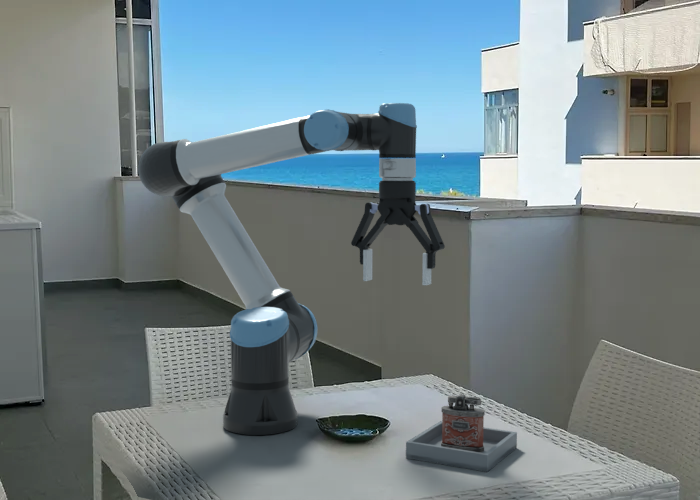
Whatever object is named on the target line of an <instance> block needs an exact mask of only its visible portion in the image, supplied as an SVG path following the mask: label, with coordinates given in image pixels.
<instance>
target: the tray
mask: <svg viewBox="0 0 700 500" xmlns="http://www.w3.org/2000/svg"><path fill="white" fill-rule="evenodd" d="M441 442H442V420H440V421H438V422H436V423H434V424H433V425H431V426H430V427H428V428H427V429H425V430H423V431H422V432H420V433H418V434H417V435H415V436H414V437H412V438H410V439H409V440H408V441H407V440H406V441H405V459H409V460H414V461H420V462H425V463H426V462H427V463H432V464H439V465H445V466H450V467H456V468H460V469H461V468H463V469H468V470H473V471H478V472H479V471H480V472H484V473H485V472H486V473H488V472H489V471H490V470H491V469H493V468H494V467H496V466H497V464H499V463H500V462H502V461H503V460H504V459H505V458H506V457H507V456H508V455H510V454H511V453H513V451H515V450H516V449H517V446H518V432H517V431H510V430H504V429H498V428H490V427H485V426H483V445H484V451H483V452H474V451H468V450H462V449H455V448H449V447H443V446H441Z"/></svg>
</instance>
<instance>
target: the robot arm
mask: <svg viewBox="0 0 700 500" xmlns="http://www.w3.org/2000/svg"><path fill="white" fill-rule="evenodd" d="M417 127H418V126H417V118H416V107H415V106H414V105H413V104H412V103H408V102H406V103H405V102H388V103H381V104H380V105H379V109H378V112H376V113H347V112H343V111H336V110H334V109H322V110H317V111H315V112H313V113H312V114H310V115H306V116H300V117H296V118H291V119H288V120H287V119H286V120H284V121H279V122H275V123H271V124H270V123H269V124H267V125H261V126H257V127H253V128H249V129H244V130H241V131H240V130H239V131H236V132H231V133H228V134H221V135H218V136H214V137H209V138H205V139H200V140H197V141H190V140H189V139H187V138H183V139H178V140H173V141H159V142H156V143H154V144H152V145H150V146H148V147H147V148H146V149H145V150H144V152H143V153H142V154H141V156H140V158H139V161H138V166H137V169H138V171H137V172H138V177H139V179H140V181H141V183H142V185H143V186H144V187H145V188H146V189H147V190H148V191H149V192H151V194H154V195H157V196H158V197H171V198H172V200H173V202H174V203H175V205H176V206H177V208H178V209H179V211H180V212H181V213H183V214H188V215H190V216H191V218H192V219H193V221H194V223H195V225H196V226H197V228H198V229H199V232H201V235H202V237H203V238H204V240H205V241H206V243H207V245H208V246H209V247H210V250H211V251H212V253H213V254H214V256H215V258H216V260H217V261H218V264H220V267H221V268H222V269H223V271H224V273H225V275H226V276H227V278H228V279H229V282H230V283H231V284H232V286H233V288H234V289H235V291H236V293H237V294H238V296H239V298H240V300H241V301H242V303H243V304H244V306H245V309H243V310H241V311H238V312H236V314H234V315H233V316H232V318H231V321H230V330H229V338H230V376H231V378H230V379H231V380H230V381H231V384H230V385H231V388H230V392H229V395H228V399H227V402H226V405H225V408H224V411H223V415H222V423H223V424H222V427H223V428H224V429H225V430H226V431H228V432H231V433H235V434H240V435H247V436H248V435H249V436H262V435H263V436H266V435H273V434H274V435H275V434H281V433H285V432H288V431H291V430H293V429H295V428H296V427H297V426H298V412H297V409H296V406H295V402H294V399H293V396H292V393H291V390H290V384H289V383H290V382H289V377H290V375H289V373H290V372H289V371H290V369H289V363H290V362H292V361H294V360H297V359H299V358H301V357H302V356H304V355H306V353H308V351H310V350H311V349H312V347H313V346H314V344H315V343H316V341H317V337H318V322H317V320H316V317H315V314H314V313H313V312H312V310H311V309H309V307H307V306H305V305H304V304H301V303H298V301H297V300H296V298H295V296H294V295H293V293H292V291H291V290H290V289H287V288H284V287H281V285H279V283H278V282H277V280H276V277H275V276H274V275H273V273H272V271H271V270H270V268H269V266H268V265H267V263H266V261H265V260H264V258H263V256H262V255H261V253H260V252H259V250H258V248H257V247H256V245H255V243H254V242H253V240H252V238H251V237H250V235H249V233H248V232H247V230H246V228H245V227H244V225H243V224H242V222H241V221H240V219H239V216H237V214H236V212H235V210H234V209H233V208H232V206H231V203H230V202H229V201H228V199H227V197H226V195H225V193H226V189H227V184H226V182H225V180H224V178H223V177H222V174H223V175H224V174H227V173H233V172H236V171H242V170H245V169H250V168H255V167H259V166H260V167H261V166H264V165H269V164H273V163H276V162H283V161H286V160H291V159H296V158H300V157H305V156H309V155H310V156H311V155H317V154H319V153H321V154H322V153H325V152H330V151H335V152H344V151H345V152H346V151H348V152H349V151H379V152H378V153H379V154H378V159H379V160H378V162H379V164H378V168H379V169H378V176H379V178H380V179H381V180H379V182H378V198H379V202H378V203H376V202H373V201H372V202H371V201H370V202H366V203H365V205H364V212H363V214H362V217H361V220H360V221H359V224H358V227H357V229H356V231H355V234H354V235H353V237H352V240H351V242H350V244H351V246H352V247H356V248H358V249H359V263H360V265H362V271H363V272H362V274H363V275H362V280H363V282H368V281H373V248H371V247H370V246H371V245H372V244H373V243H374V241H375V240H376V239H377V237H379V235H380V234H381V233H382V231H383V230H384V229H385V228H386V226H388V225H389V226H393V225H397V226H406V227H407V229H409V230H410V231H411V232H412V234H413V236H414V237H415V238H416V239H417V241H418V242H419V243H420V245H421V246H422V247H423V249H424V251H425V252H423V253H422V278H421V279H422V280H421V281H422V283H421V285H422V286H430V285H432V270H433V269H435V267H436V253H437V252H440V251H442V250H444V249H445V247H446V246H445V243H444V240H443V238H442V236H441V234H440V232H439V230H438V227H437V225H436V223H435V220H434V218H433V216H432V211H431V205H430V204H429V203H421V204H417V203H416V197H417V196H416V194H417V191H416V187H417V186H416V181H415V180H414V179H415V178H416V177H417V171H416V170H417V165H416V164H417V163H416V162H417V159H416V156H417V155H416V152H417V150H416V148H417V146H416V145H417V140H416V139H417ZM377 211H378V213H379V214H380V216H379V218H378V219H377V220H376V221H375V224H374V225H373V226H372V228H371V229H370V230H369V228H370V226H371V223H372V222H373V219H374V216H375V214H376V213H377ZM416 213H417V214H418V215H419V216H420V218H421V221H422V223H423V225H424V227H425V229H426V232H427V233H426V232H425V231H424V229H423V227H422V226H420V224H419V220H417V218H416V217H415V214H416ZM368 230H369V232H368ZM427 234H428V235H427Z"/></svg>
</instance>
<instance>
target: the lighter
mask: <svg viewBox="0 0 700 500" xmlns="http://www.w3.org/2000/svg"><path fill="white" fill-rule="evenodd" d="M447 403H448V405H444V406H443V405H442V406H441V413H442V415H441V416H442V420H441V421H442V442H441V446H443V447H449V448H455V449H462V450H468V451H474V452H483V451H484V445H483V427H484V423H485V422H484V421H485V420H484V419H485V418H484V417H485V409H483V408H476V407H475V406H481V405H482V398H481V397H476V396H468V397H467V396H466V395H464V394H462V393H461V394H459V395H458V396H456V395H448V396H447Z"/></svg>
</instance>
